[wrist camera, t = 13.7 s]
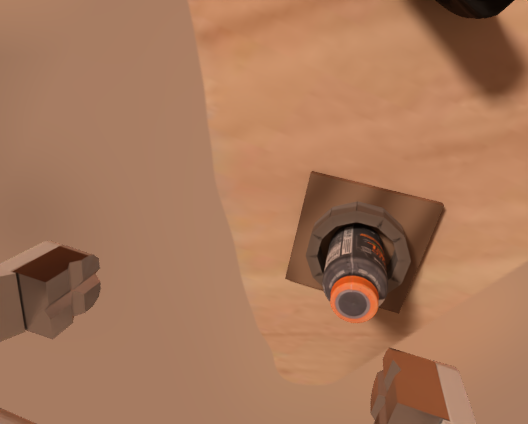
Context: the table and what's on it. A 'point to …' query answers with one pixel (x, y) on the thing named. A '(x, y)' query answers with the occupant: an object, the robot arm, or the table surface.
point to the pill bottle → (355, 273)
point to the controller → (475, 7)
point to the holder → (371, 215)
